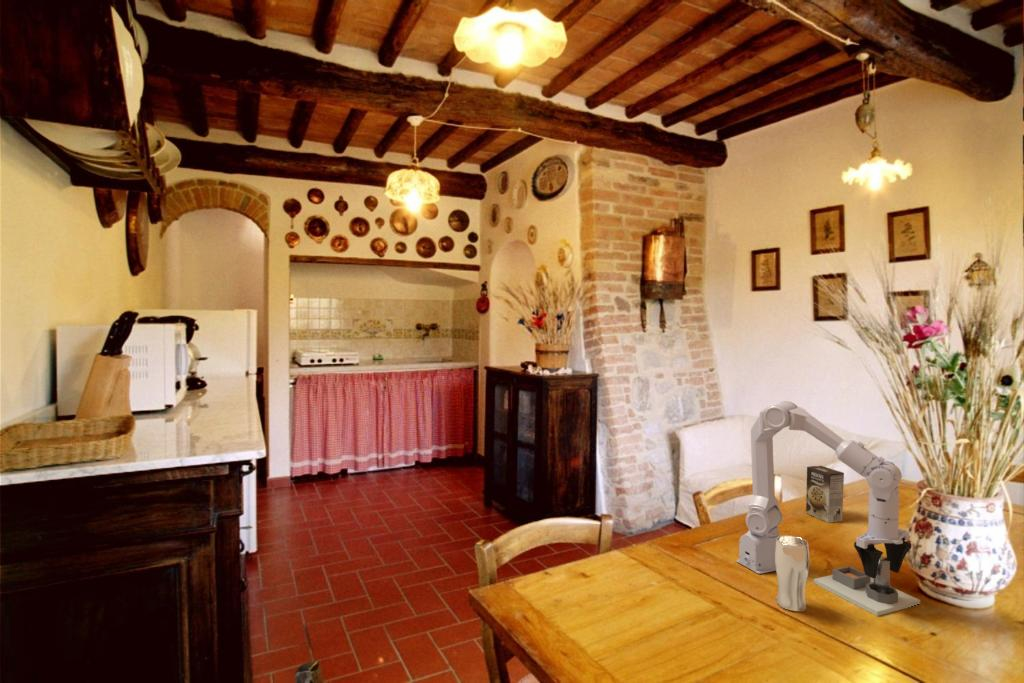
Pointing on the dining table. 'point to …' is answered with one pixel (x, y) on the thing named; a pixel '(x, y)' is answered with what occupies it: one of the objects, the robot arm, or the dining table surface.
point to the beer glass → (791, 571)
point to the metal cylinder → (882, 576)
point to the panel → (865, 592)
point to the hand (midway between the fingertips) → (881, 573)
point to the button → (851, 575)
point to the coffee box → (824, 493)
